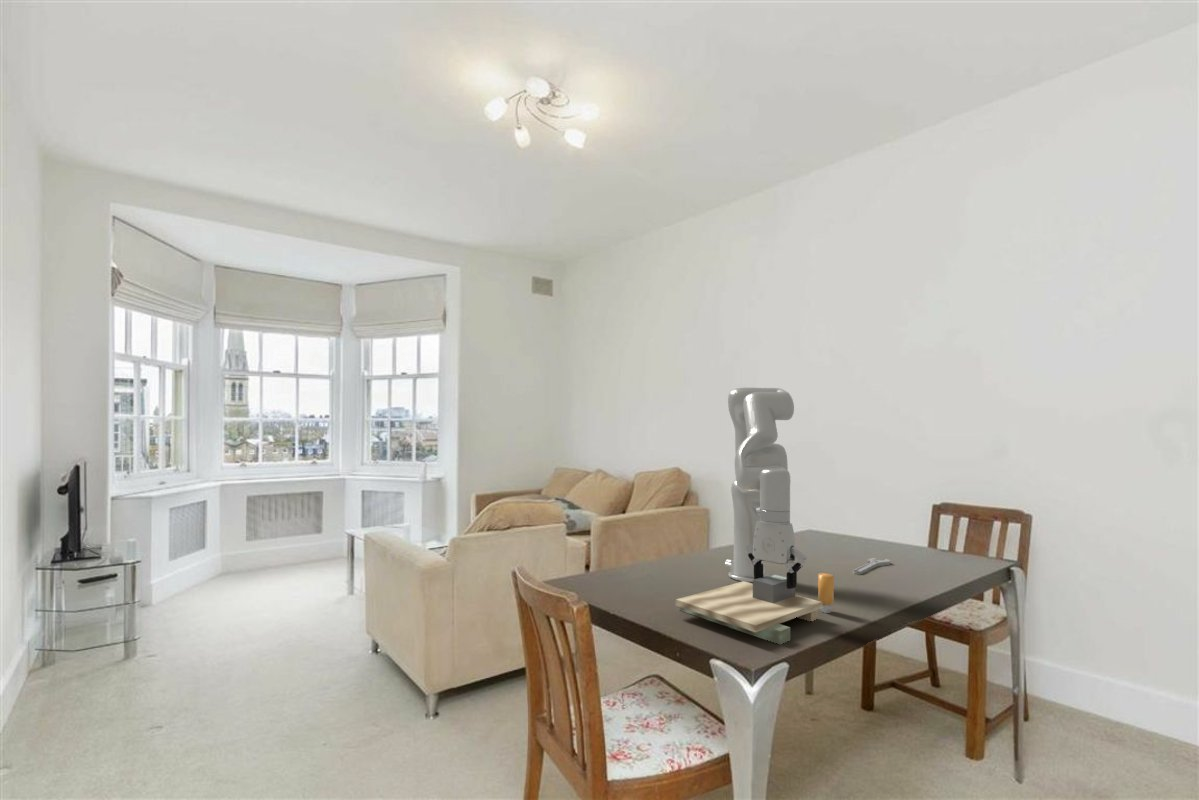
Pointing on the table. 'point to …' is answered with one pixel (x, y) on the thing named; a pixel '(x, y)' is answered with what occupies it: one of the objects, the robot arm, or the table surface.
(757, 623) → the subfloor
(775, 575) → the block
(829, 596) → the orange and grey cylinder
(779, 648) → the table surface
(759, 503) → the robot arm
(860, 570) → the adjustable wrench
